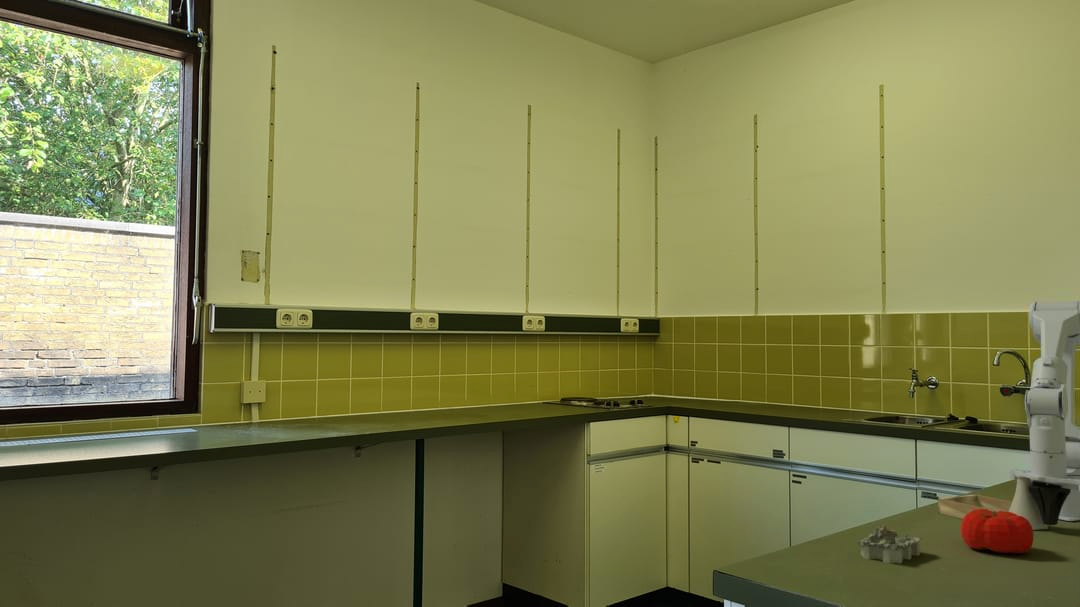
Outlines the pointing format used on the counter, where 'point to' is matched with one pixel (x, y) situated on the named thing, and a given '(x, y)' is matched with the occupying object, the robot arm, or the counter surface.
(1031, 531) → the tomato
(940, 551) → the counter surface
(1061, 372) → the robot arm
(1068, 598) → the counter surface
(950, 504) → the oak frame
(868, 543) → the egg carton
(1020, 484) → the flask
